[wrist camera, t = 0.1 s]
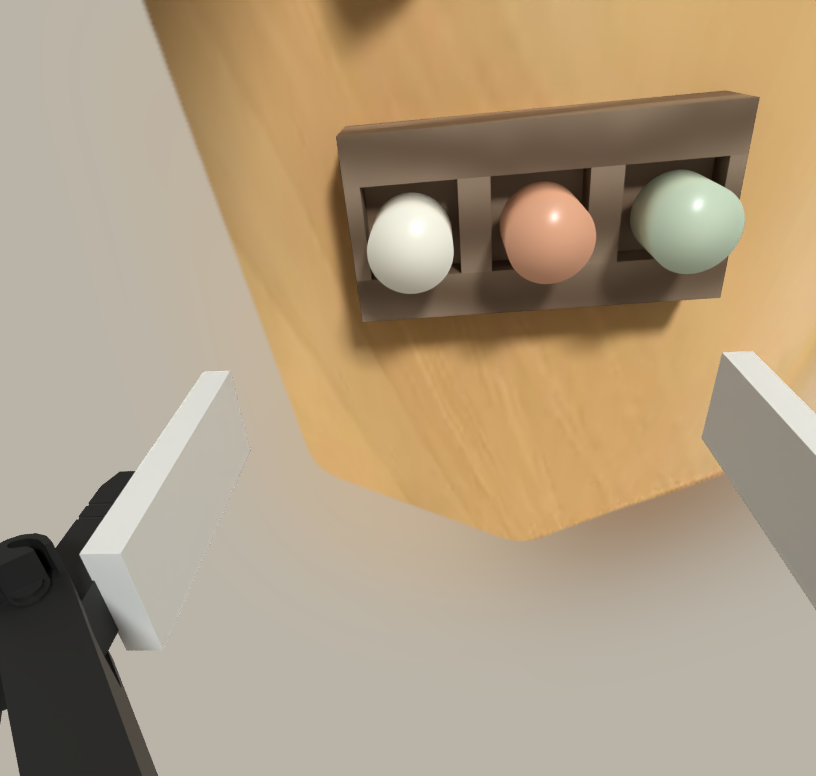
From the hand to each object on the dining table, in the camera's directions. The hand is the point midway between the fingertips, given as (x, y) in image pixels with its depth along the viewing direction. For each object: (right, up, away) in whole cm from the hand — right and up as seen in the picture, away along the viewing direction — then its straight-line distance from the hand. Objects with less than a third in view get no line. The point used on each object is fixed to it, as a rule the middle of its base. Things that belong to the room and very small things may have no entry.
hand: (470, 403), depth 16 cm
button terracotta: (+7, +11, +20) cm, 24 cm away
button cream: (-1, +10, +21) cm, 24 cm away
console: (+7, +13, +24) cm, 29 cm away
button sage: (+15, +11, +20) cm, 27 cm away
